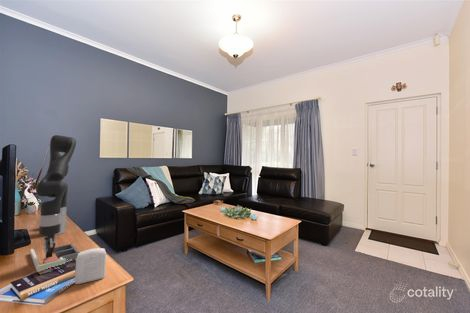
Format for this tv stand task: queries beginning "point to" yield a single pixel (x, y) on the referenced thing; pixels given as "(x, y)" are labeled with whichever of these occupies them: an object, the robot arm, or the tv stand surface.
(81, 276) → the photo printer
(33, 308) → the tv stand surface
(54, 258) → the red block
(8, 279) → the tv stand surface
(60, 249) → the box
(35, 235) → the tv stand surface
